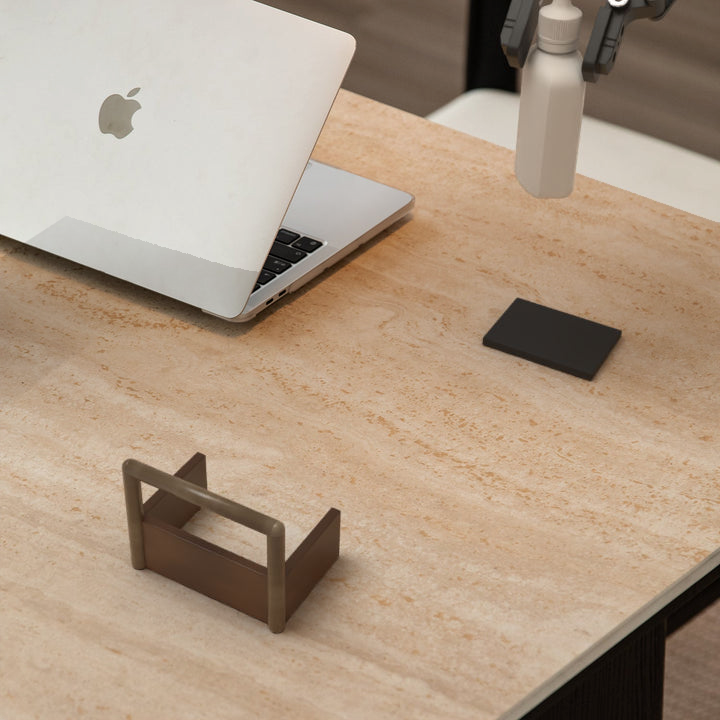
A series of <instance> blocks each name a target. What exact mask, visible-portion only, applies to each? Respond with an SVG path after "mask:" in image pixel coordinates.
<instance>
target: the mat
mask: <svg viewBox="0 0 720 720" xmlns="http://www.w3.org/2000/svg"><path fill="white" fill-rule="evenodd" d="M622 333H623V330H622V329H618V328H617V327H616V328H615V327H613V326H609V325H606V324H603V323H600V322H596V321H594V320H590V319H587V318H584V317H581V316H578V315H575V314H571V313H568V312H565V311H562V310H558V309H556V308H552V307H549V306H546V305H544V304H540V303H537V302H534V301H530V300H527V299H524V298H522V297H516V298H515V299H514V300H513V301H512V302H511V304H510V305H509V306H508V307H507V308H506V309H505V311H504V312H503V313H502V314H501V315H500V317H499V318H497V320H496V321H495V323H494V324H493V325H492V326H491V327H490V329H489V330H488V331H487V332H486V333H485V334H484V335H483V337H482V342H481V343H482V344H481V345H483V346H486V347H489V348H492V349H494V350H498V351H501V352H504V353H507V354H509V355H513V356H516V357H519V358H521V359H524V360H528V361H530V362H533V363H536V364H540V365H541V366H545V367H548V368H551V369H554V370H557V371H560V372H563V373H565V374H569V375H572V376H575V377H578V378H580V379H583V380H587V381H590V382H591V381H592V380H593V379H594V377H595V376H596V374H597V373H598V372H599V370H600V368H601V367H602V365H604V363H605V361H606V360H607V358H608V357H609V355H610V354H611V353H612V351H613V349H614V348H615V346H616V345H617V343H618V342H619V341H620V339H621V338H622Z"/></svg>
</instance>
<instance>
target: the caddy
mask: <svg viewBox="0 0 720 720" xmlns="http://www.w3.org/2000/svg"><path fill="white" fill-rule="evenodd" d="M207 472H208V471H207V455H206V454H204V453H202V452H199V451H196V452H195V454H193V455H192V457H190V458H189V459H188V460H187V461H186V462H185V463H183V465H182V466H181V467H180V468H179V469H177V471H175V473H174V474H170V473H168V472H166V471H163V470H161V469H159V468H157V467H154V466H151V465H149V464H147V463H144V462H143V461H142V462H141V461H140V460H137V459H136V458H126V459H125V460H124V461H123V462H122V464H121V473H122V483H123V495H124V502H125V503H124V504H125V511H126V522H127V531H128V540H129V550H130V560H131V566H132V567H133V568H134V569H136V570H143V569H145V568H146V569H149V570H151V571H152V572H155V573H157V574H160V575H162V576H164V577H166V578H168V579H170V580H172V581H174V582H177V583H179V584H181V585H183V586H185V587H187V588H190V589H192V590H194V591H196V592H199V593H201V594H203V595H205V596H207V597H209V598H211V599H213V600H215V601H218V602H220V603H222V604H224V605H226V606H229V607H231V608H233V609H235V610H237V611H240V612H242V613H244V614H246V615H248V616H250V617H252V618H254V619H257V620H259V621H261V622H262V623H263V622H264V623H265V624H267V628H268V629H269V631H270V632H273V633H276V634H277V633H281V632H283V631H284V629H285V628H286V623H287V622H288V621H289V619H290V618H291V617H292V616H293V615H294V613H295V612H296V611H297V610H298V608H299V607H300V606H301V605H302V603H303V602H304V601H305V600H306V598H307V597H308V596H309V595H310V594H311V592H312V591H313V590H314V589H315V587H316V586H317V585H318V584H319V582H320V581H321V580H322V579H323V578H324V576H325V575H326V574H327V573H328V571H329V570H330V569H331V567H332V566H333V565H334V564H335V562H336V561H337V560H338V559H339V557H340V548H341V547H340V545H341V544H340V543H341V522H342V521H341V517H342V510H340V509H339V508H335V507H333V506H332V507H330V509H329V510H328V511H327V512H326V513H325V514H324V516H323V517H322V518H321V519H320V520H319V521H318V523H317V524H316V525H315V526H314V527H313V528H312V530H311V531H310V532H309V533H308V535H306V537H304V539H303V540H302V542H300V544H299V545H298V546H297V548H295V550H294V551H293V552H292V553H291V554H290V556H289V557H288V558H287V559H286V526H285V524H284V523H283V522H282V521H281V520H279V519H277V518H274V517H271V516H269V515H267V514H265V513H263V512H260V511H258V510H255V509H253V508H250V507H248V506H246V505H243V504H241V503H239V502H236V501H235V500H232V499H229V498H227V497H226V496H225V497H224V496H222V495H220V494H217V493H216V492H213V491H210V490H208V475H207V474H208V473H207ZM142 483H143V484H146V485H148V486H150V487H153V488H156V489H157V490H156V491H155V492H154V493H152V495H151V496H150V497H148V499H147V500H146V501H144V500H143V499H144V498H143V488H142ZM201 508H202V509H204V510H207V511H209V512H211V513H213V514H216V515H218V516H221V517H223V518H225V519H228V520H230V521H232V522H234V523H236V524H239V525H241V526H243V527H246V528H249V529H251V530H252V531H256V532H258V533H260V534H262V535H265V536H266V566H264V565H263V564H260V563H257V562H255V561H253V560H251V559H249V558H247V557H245V556H241V555H240V554H238V553H235V552H233V551H230V550H229V549H226V548H224V547H221V546H219V545H217V544H214V543H213V542H210V541H208V540H206V539H203V538H201V537H199V536H197V535H194V534H192V533H190V532H187V531H185V530H183V529H181V528H183V527H184V525H185V524H186V523H187V522H188V521H189V520H190V519H191V518H193V516H194V515H195V514H196V513H197V512H198V511H199V510H200V509H201Z"/></svg>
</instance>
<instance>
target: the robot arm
mask: <svg viewBox="0 0 720 720" xmlns="http://www.w3.org/2000/svg"><path fill="white" fill-rule="evenodd" d="M543 1H544V0H511V2H510V4H509V7H508V11H507V13H506V17H505V20H504V22H503V23H504V24H503V27H502V29H501V31H500V35H499V36H500V46H501V48H502V51H503V54H504V55H505V57H506V59H507V62H508V64H509V66H510V67H513V68H517V69H523V67H524V65H525V62H526V58H527V55H528V52H529V49H530V47H531V46H532V44H533V40H534V37H535V34H536V32H537V29H538V18H539V10H540V9H541V5H542V3H543ZM677 1H678V0H606V1H605V6H602V5H601V6H599V8H598V11H597V15H596V18H595V20H594V24H593V27H592V30H591V34H590V37H589V40H588V44H587V46H586V49H585V52H584V56H583V62H582V67H581V72H582V76H583V80H584V81H585V82H586V83H591V84H597V83H598V81H599V79H600V75H602V76H609V75H610V73H611V71H613V69H614V67H615V64H616V61H617V58H618V54H619V51H620V48H621V45H622V43H623V39H624V36H625V32H626V29H627V28H628V26H629V25H630V24H631V23H632V22H634V21H637V20H644V19H647V20H648V21H650V22H660V21H662V20H663V19H664V18H665V17H666V16H667V14H668V12H670V10H671V9H672V8H673V6H674V5H675V4H676V2H677Z"/></svg>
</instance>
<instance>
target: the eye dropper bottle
mask: <svg viewBox="0 0 720 720" xmlns="http://www.w3.org/2000/svg"><path fill="white" fill-rule="evenodd" d="M583 15H584V14H583V12H582V10H581V9H580V8H578V7H577V6H575V5H573V4H572V0H552V1H551V3H549V4H546V5H544V6H542V7H540V10H539V18H538V24H537V28H536V39H535V40H536V41H535V43H534V44H531V46H530V49H529V52H528V55H527V58H526V62H525V65H524V67H523V68H522V76H521V84H520V85H521V86H520V98H519V109H518V119H517V120H518V121H517V133H516V142H515V153H514V166H513V167H514V175H515V179H516V181H517V183H518V184H519V186H520V187H521V188H522V189H523V190H524V191H525V192H526V193H527V194H528V195H530V196H531V197H532V198H535V199H537V200H553V199H554V200H555V199H557V200H558V199H566V198H569V197H570V196H571V195H572V194H573V191H574V187H575V181H576V173H577V172H576V171H577V164H578V157H579V148H580V141H581V140H580V139H581V132H582V131H581V130H582V124H583V123H582V122H583V114H584V106H585V98H586V97H585V96H586V88H587V82H585V81H584V80H583V76H582V72H581V67H582V62H583V59H584V56H583V55H582V53H581V51H580V50H579V49H578V48H579V47H580V42H581V41H580V40H581V33H582V32H581V30H582V22H583Z"/></svg>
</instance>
